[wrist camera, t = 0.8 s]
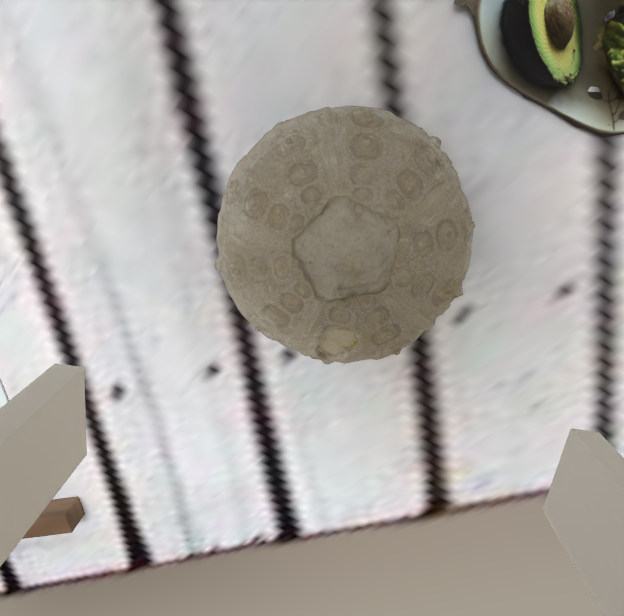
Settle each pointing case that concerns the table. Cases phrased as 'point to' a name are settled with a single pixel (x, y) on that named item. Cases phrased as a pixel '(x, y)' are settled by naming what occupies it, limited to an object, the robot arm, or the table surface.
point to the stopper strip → (57, 518)
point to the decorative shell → (344, 234)
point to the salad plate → (558, 55)
